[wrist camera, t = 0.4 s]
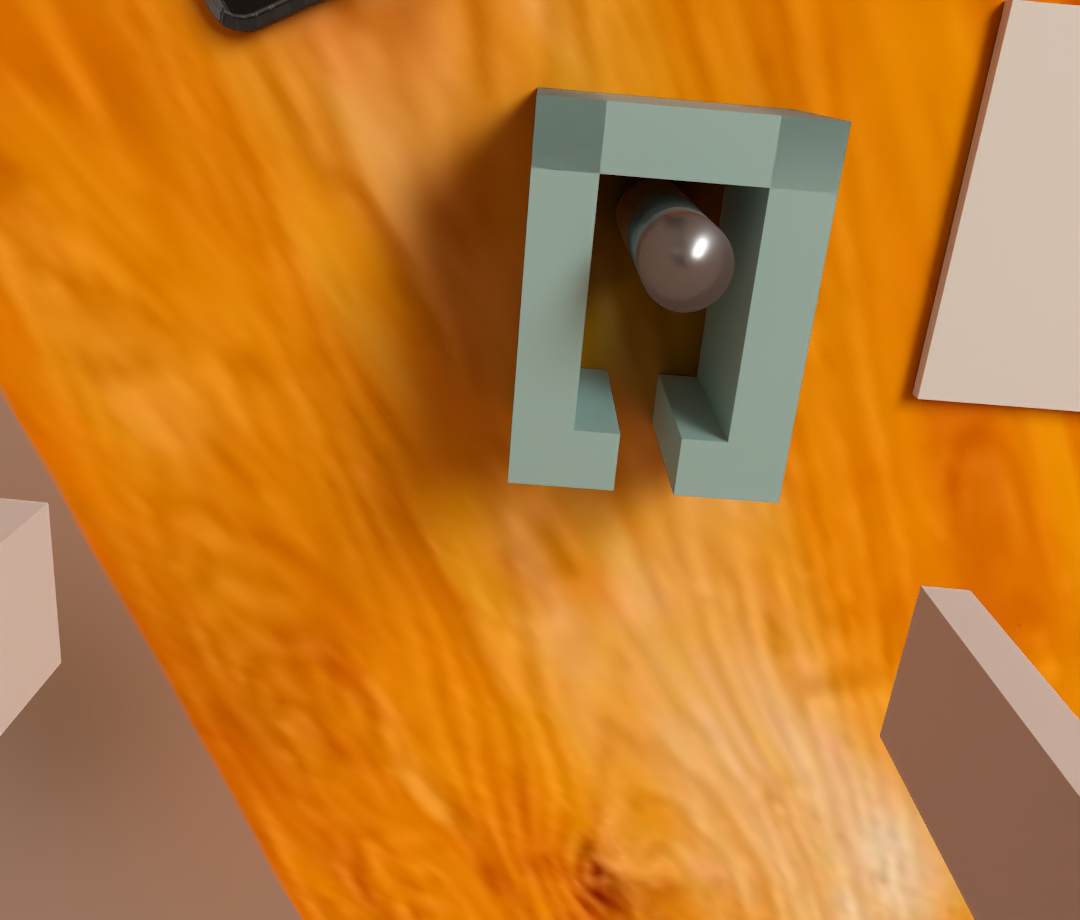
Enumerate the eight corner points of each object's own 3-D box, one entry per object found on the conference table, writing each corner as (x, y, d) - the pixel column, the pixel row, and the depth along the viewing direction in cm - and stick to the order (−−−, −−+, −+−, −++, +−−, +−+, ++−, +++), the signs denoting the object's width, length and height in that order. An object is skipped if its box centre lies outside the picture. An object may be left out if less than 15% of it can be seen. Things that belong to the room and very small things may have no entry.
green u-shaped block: (537, 87, 34) (536, 94, 28) (793, 109, 34) (851, 121, 28) (513, 411, 39) (507, 482, 32) (739, 429, 39) (778, 503, 33)
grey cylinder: (620, 175, 35) (645, 214, 27) (692, 181, 35) (741, 222, 27) (612, 247, 36) (634, 308, 28) (682, 253, 36) (726, 316, 28)
